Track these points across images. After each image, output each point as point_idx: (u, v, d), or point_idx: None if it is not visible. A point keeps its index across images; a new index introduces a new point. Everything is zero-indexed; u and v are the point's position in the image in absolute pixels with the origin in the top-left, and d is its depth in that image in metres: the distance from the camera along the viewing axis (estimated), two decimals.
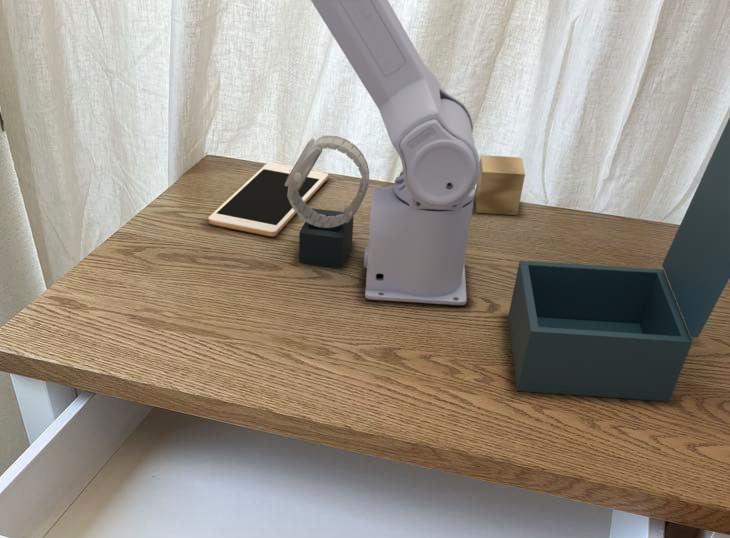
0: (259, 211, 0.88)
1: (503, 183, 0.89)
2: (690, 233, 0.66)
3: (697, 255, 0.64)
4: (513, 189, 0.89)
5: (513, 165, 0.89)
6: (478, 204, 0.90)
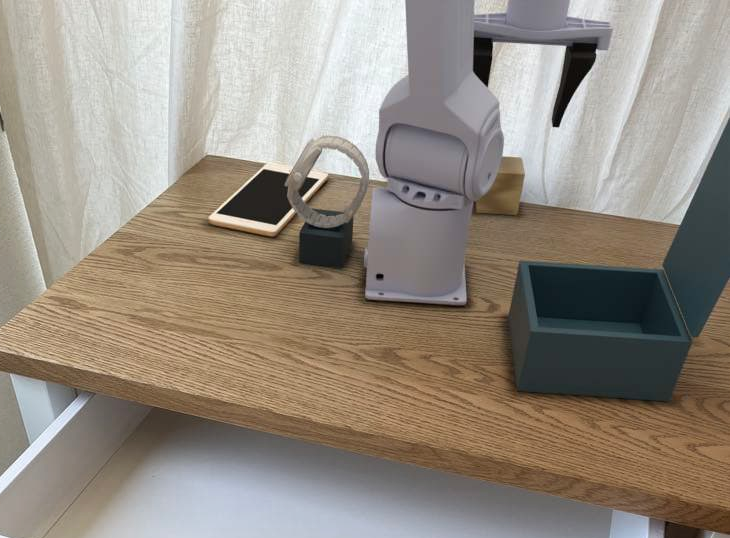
0: (259, 211, 0.88)
1: (503, 183, 0.89)
2: (690, 233, 0.66)
3: (697, 255, 0.64)
4: (513, 189, 0.89)
5: (513, 165, 0.89)
6: (478, 204, 0.90)
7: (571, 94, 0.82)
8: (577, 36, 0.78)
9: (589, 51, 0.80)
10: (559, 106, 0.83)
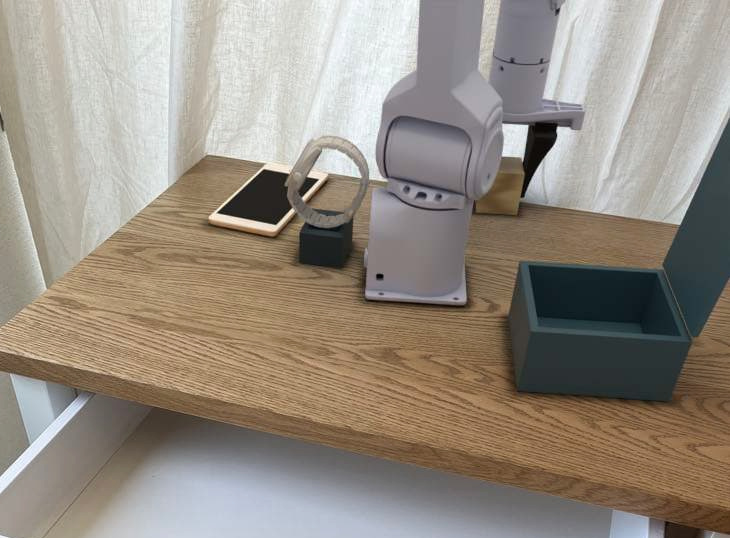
0: (259, 211, 0.88)
1: (502, 183, 0.89)
2: (690, 233, 0.66)
3: (697, 255, 0.64)
4: (512, 189, 0.89)
5: (512, 165, 0.89)
6: (478, 204, 0.90)
7: (535, 169, 0.88)
8: (552, 118, 0.84)
9: (550, 130, 0.86)
10: (524, 179, 0.89)
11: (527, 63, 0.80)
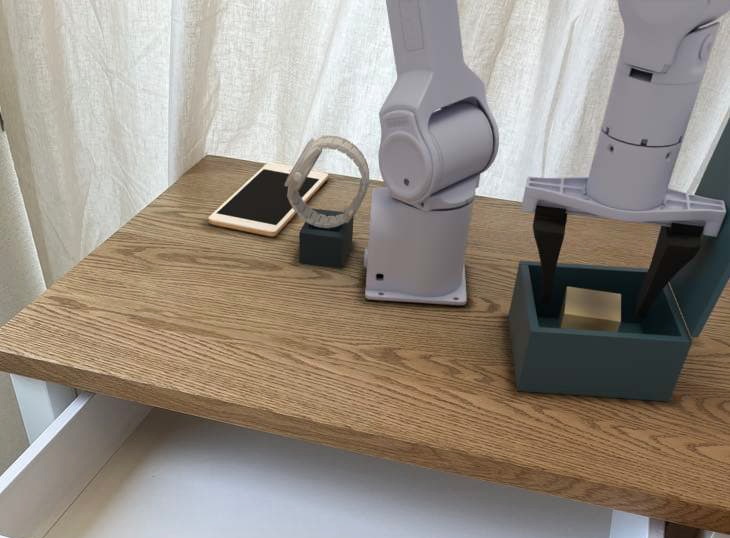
0: (259, 211, 0.88)
1: (590, 329, 0.68)
2: None
3: (697, 255, 0.64)
4: None
5: (607, 306, 0.68)
6: None
7: (664, 284, 0.64)
8: (678, 219, 0.60)
9: (692, 236, 0.62)
10: (647, 295, 0.65)
11: (648, 145, 0.56)
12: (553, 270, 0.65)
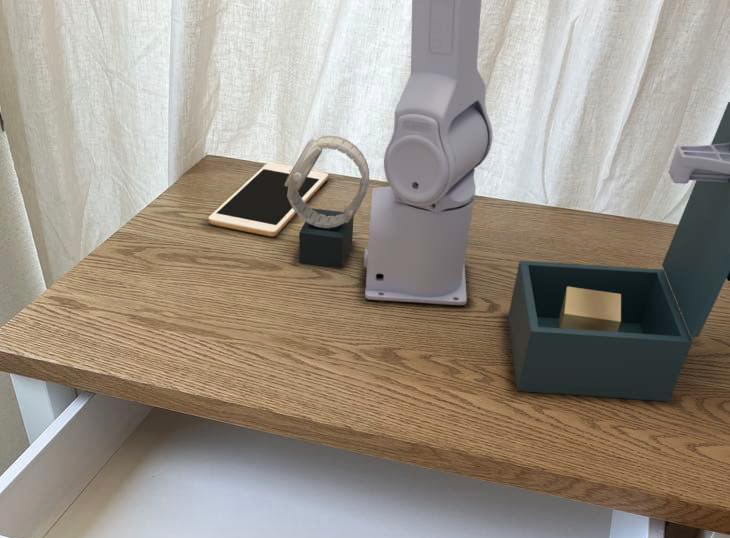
0: (259, 211, 0.88)
1: (590, 329, 0.68)
2: (688, 233, 0.66)
3: (695, 255, 0.64)
4: None
5: (607, 306, 0.68)
6: None
7: None
8: None
9: None
10: None
11: None
12: None
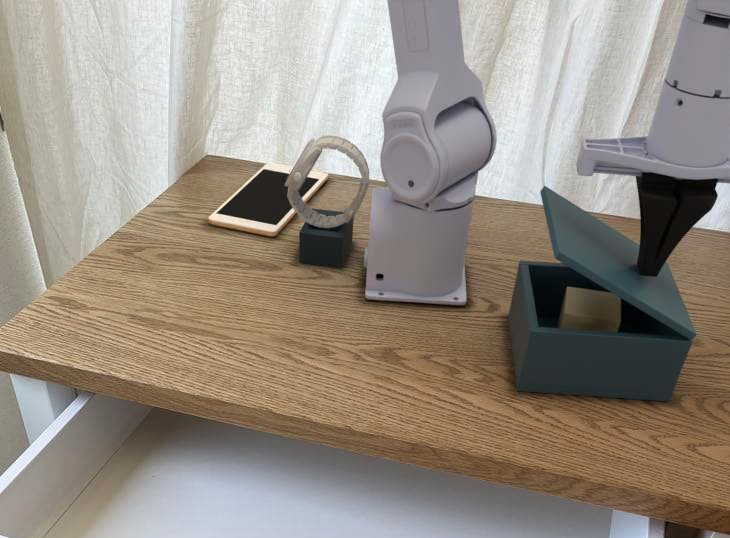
0: (259, 211, 0.88)
1: (590, 329, 0.68)
2: None
3: None
4: None
5: (607, 306, 0.68)
6: None
7: (678, 240, 0.62)
8: None
9: (707, 187, 0.60)
10: (660, 253, 0.63)
11: (721, 96, 0.54)
12: (658, 240, 0.62)
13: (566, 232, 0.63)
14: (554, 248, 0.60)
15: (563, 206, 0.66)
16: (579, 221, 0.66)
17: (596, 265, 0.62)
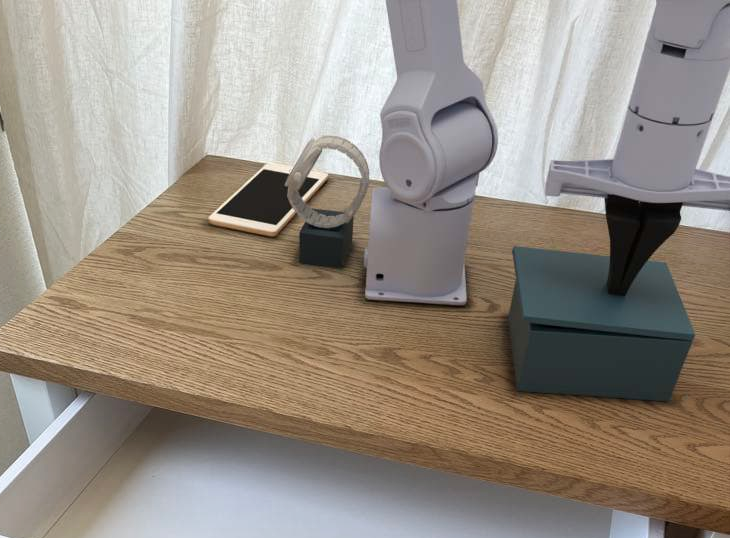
0: (259, 211, 0.88)
1: None
2: None
3: None
4: None
5: None
6: None
7: (644, 260, 0.63)
8: (707, 199, 0.59)
9: (671, 211, 0.61)
10: (627, 273, 0.65)
11: (680, 123, 0.55)
12: (624, 260, 0.64)
13: (535, 288, 0.66)
14: (521, 312, 0.64)
15: (534, 259, 0.70)
16: (552, 268, 0.69)
17: (569, 309, 0.64)
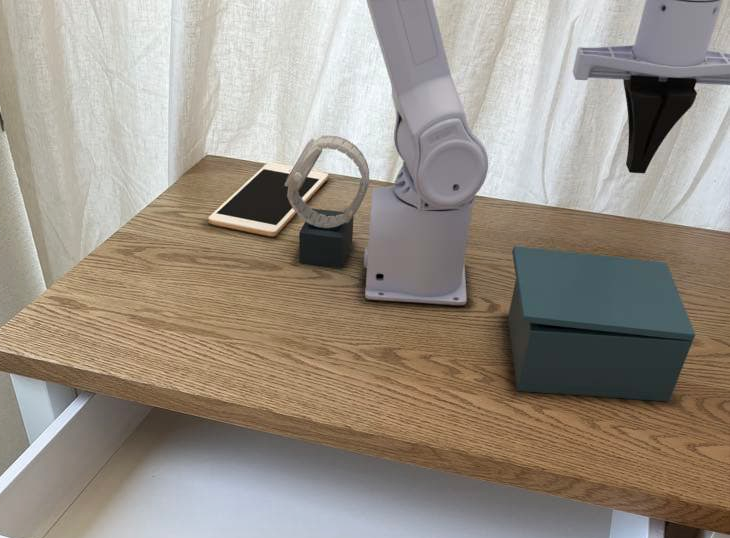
0: (259, 211, 0.88)
1: None
2: None
3: None
4: None
5: None
6: None
7: (663, 136, 0.71)
8: (720, 73, 0.67)
9: (687, 87, 0.69)
10: (648, 150, 0.72)
11: (699, 0, 0.63)
12: (645, 137, 0.71)
13: (535, 288, 0.66)
14: (521, 312, 0.64)
15: (534, 259, 0.70)
16: (552, 268, 0.69)
17: (569, 309, 0.64)
